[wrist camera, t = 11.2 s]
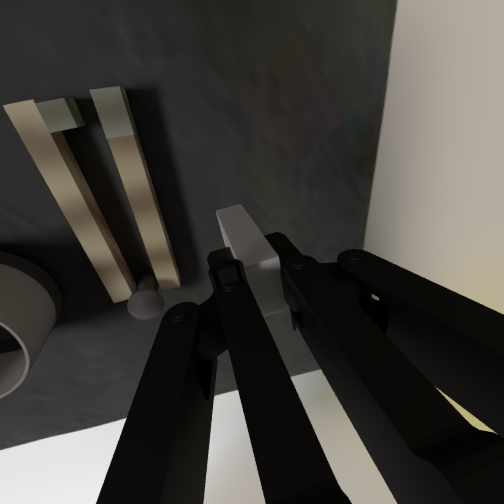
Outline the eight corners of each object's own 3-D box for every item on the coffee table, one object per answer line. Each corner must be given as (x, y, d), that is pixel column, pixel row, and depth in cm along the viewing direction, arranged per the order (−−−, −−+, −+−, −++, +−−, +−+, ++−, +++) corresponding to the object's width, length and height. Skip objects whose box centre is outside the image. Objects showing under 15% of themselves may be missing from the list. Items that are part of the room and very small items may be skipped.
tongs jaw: (180, 274, 38) (180, 286, 35) (161, 278, 37) (160, 291, 35) (124, 88, 27) (119, 86, 24) (97, 92, 27) (89, 89, 24)
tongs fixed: (168, 287, 38) (168, 313, 34) (124, 301, 38) (117, 329, 33) (86, 92, 27) (67, 88, 22) (19, 105, 26) (-16, 104, 21)
